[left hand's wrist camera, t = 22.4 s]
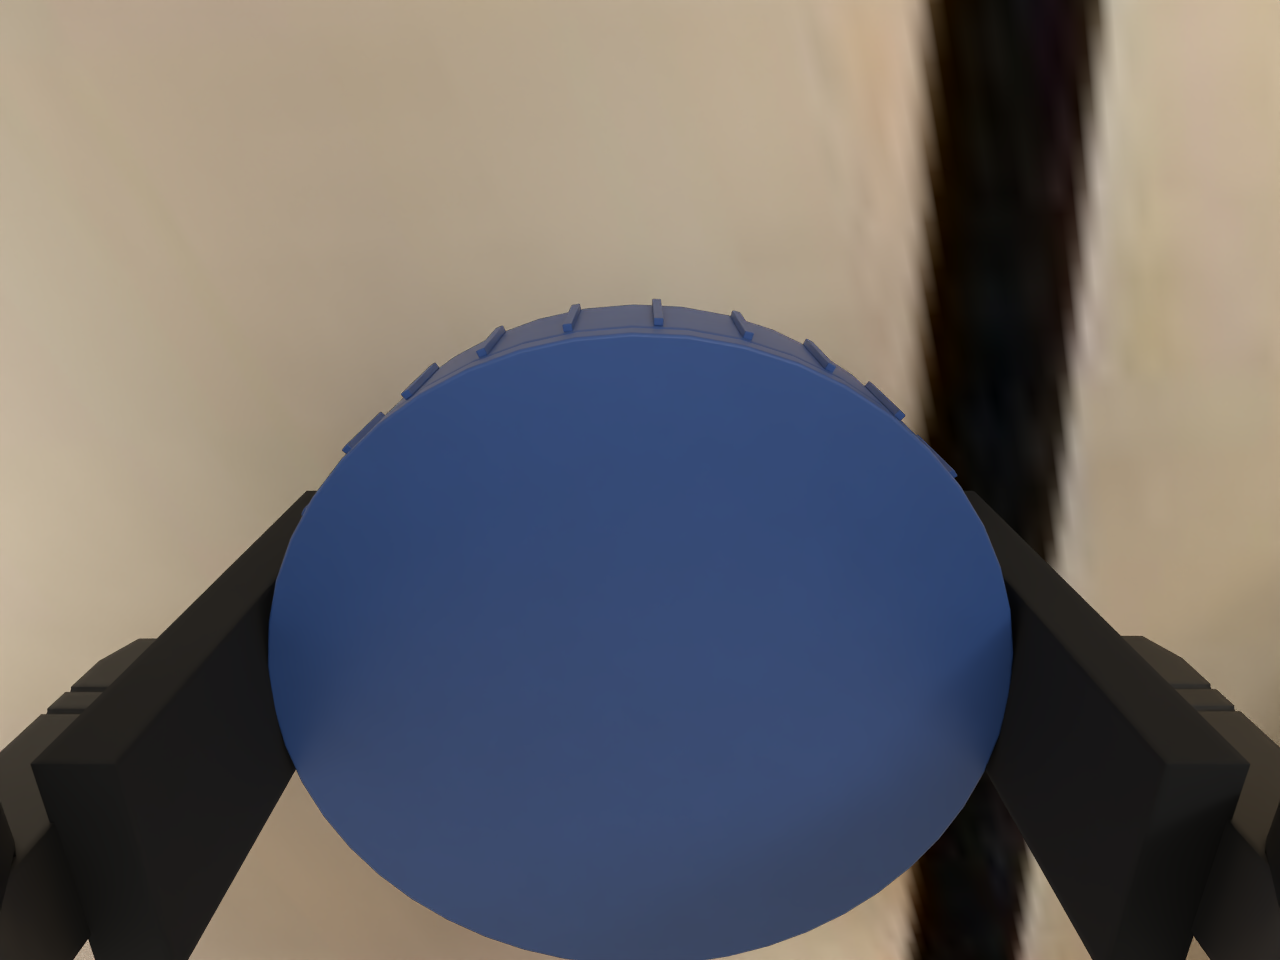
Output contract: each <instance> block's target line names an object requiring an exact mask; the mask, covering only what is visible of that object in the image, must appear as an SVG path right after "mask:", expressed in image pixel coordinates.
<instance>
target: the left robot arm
mask: <svg viewBox="0 0 1280 960" xmlns="http://www.w3.org/2000/svg"><path fill="white" fill-rule="evenodd" d="M316 492H317V491H306V492H305V493H304V494H303V495H302V496H301V497H300V498H299V499H298V500H297V501H296V502H295V503H294V504H293V505H292V506H291V507H290V508H289V509H288V510H287V511H286V512H285V513H284V514H283V515H282V516H281V517H280V518H279V519H278V520H277V521H276V522H275V523H274V524H273V525H272V526H271V527H270V528H269V529H268V530H267V531H266V532H265V533H264V534H263V535H262V536H261V537H260V538H259V539H258V540H257V541H255V542H254V543H253V544H252V545H251V546H250V547H249V548H248V549H247V550H246V551H245V552H244V553H243V554H242V555H241V556H240V557H239V558H238V559H237V560H236V561H235V562H234V563H233V564H232V565H231V566H230V567H229V568H228V569H227V570H226V571H225V572H224V573H223V574H222V575H221V576H220V577H219V578H218V579H217V580H216V581H215V582H214V583H213V584H212V585H211V586H210V587H209V588H208V589H207V590H206V591H205V592H204V593H203V594H202V595H201V596H200V597H199V598H198V599H197V600H196V601H195V602H194V603H193V604H192V605H191V606H190V607H189V608H188V609H187V610H186V611H185V612H184V613H183V614H182V615H181V616H179V617H178V618H177V619H176V620H175V621H174V622H173V623H172V624H171V625H170V626H169V627H168V628H167V629H166V630H165V631H164V632H163V633H162V634H161V635H160V636H159V637H158V638H157V639H138V640H136V641H134V642H132V643H130V644H129V645H127V646H125V647H123V648H121V649H120V650H118V651H116V652H114V653H113V654H111V655H109V656H107V657H105V658H104V659H102V660H100V661H99V662H98V663H96V664H95V665H94V666H93V667H92V668H91V669H90V670H89V671H88V672H87V673H86V674H85V675H83V676H82V677H81V678H80V679H79V680H78V681H77V682H76V683H75V684H74V685H73V686H72V687H71V691H70V692H65V693H64V694H63V695H62V696H61V697H60V698H59V699H57V700H56V701H55V702H54V703H53V704H52V705H51V706H50V707H49V708H48V709H47V710H48V711H47V714H41V715H40V716H39V717H38V718H37V719H36V720H35V721H34V722H33V723H31V724H30V725H29V726H28V727H27V728H26V729H25V730H24V731H23V732H22V733H21V734H19V735H18V736H17V737H16V738H15V739H14V740H13V741H12V742H11V743H10V744H9V745H8V746H6V747H5V748H4V749H3V750H2V751H1V752H0V960H73V959H74V958H75V956H76V955H77V954H78V952H79V951H80V949H81V948H82V947H83V945H84V944H85V942H86V941H87V940H89V943H90V946H91V949H92V952H93V955H94V958H95V960H188V959H189V957H190V955H191V954H192V952H193V950H194V948H195V946H196V945H197V943H198V941H199V939H200V938H201V936H202V934H203V932H204V931H205V929H206V927H207V925H208V924H209V922H210V920H211V918H212V916H213V915H214V913H215V911H216V909H217V908H218V906H219V904H220V902H221V901H222V899H223V897H224V895H225V894H226V892H227V890H228V888H229V886H230V885H231V883H232V881H233V879H234V878H235V876H236V874H237V872H238V871H239V869H240V867H241V865H242V864H243V862H244V860H245V858H246V856H247V855H248V853H249V851H250V849H251V848H252V846H253V844H254V842H255V841H256V839H257V837H258V835H259V833H260V832H261V830H262V828H263V826H264V825H265V823H266V821H267V819H268V818H269V816H270V814H271V812H272V811H273V809H274V807H275V805H276V803H277V802H278V800H279V798H280V796H281V795H282V793H283V791H284V789H285V788H286V786H287V784H288V782H289V781H290V779H291V777H292V775H293V773H294V772H295V770H296V768H295V766H294V764H293V762H292V759H291V757H290V755H289V753H288V751H287V749H286V746H285V743H284V740H283V737H282V733H281V730H280V727H279V723H278V719H277V715H276V710H275V705H274V700H273V694H272V688H271V683H270V677H269V670H268V632H269V618H270V612H271V606H272V601H273V595H274V589H275V584H276V579H277V576H278V573H279V570H280V567H281V565H282V562H283V559H284V556H285V553H286V550H287V547H288V544H289V542H290V539H291V537H292V535H293V533H294V531H295V529H296V527H297V525H298V523H299V522H300V520H301V518H302V515H301V514H302V512H303V510H304V508H305V507H306V506H307V505H308V504H309V503H310V501H311V499H312V497H313V496H314V495H315V493H316ZM964 493H965V495H966V496H967V498H968V500H969V501H970V503H971V505H972V506H973V508H974V510H975V511H976V513H977V515H978V516H979V518H980V520H981V521H982V523H983V525H984V527H985V529H986V532H987V534H988V536H989V539H990V542H991V544H992V547H993V549H994V552H995V554H996V557H997V559H998V562H999V564H1000V567H1001V571H1002V575H1003V579H1004V584H1005V588H1006V593H1007V597H1008V601H1009V606H1010V611H1011V627H1012V642H1013V660H1012V671H1011V682H1010V688H1009V694H1008V699H1007V704H1006V708H1005V713H1004V718H1003V722H1002V726H1001V730H1000V734H999V737H998V739H997V742H996V744H995V747H994V749H993V751H992V754H991V756H990V759H989V761H988V764H987V766H986V768H985V771H986V773H987V774H988V776H989V778H990V780H991V781H992V783H993V785H994V787H995V788H996V790H997V792H998V794H999V795H1000V797H1001V799H1002V801H1003V803H1004V804H1005V806H1006V808H1007V810H1008V811H1009V813H1010V815H1011V817H1012V818H1013V820H1014V822H1015V824H1016V825H1017V827H1018V829H1019V831H1020V833H1021V834H1022V836H1023V838H1024V840H1025V841H1026V843H1027V845H1028V847H1029V848H1030V850H1031V852H1032V854H1033V856H1034V857H1035V859H1036V861H1037V863H1038V864H1039V866H1040V868H1041V870H1042V871H1043V873H1044V875H1045V877H1046V878H1047V880H1048V882H1049V884H1050V886H1051V887H1052V889H1053V891H1054V893H1055V894H1056V896H1057V898H1058V900H1059V901H1060V903H1061V905H1062V907H1063V908H1064V910H1065V912H1066V914H1067V916H1068V917H1069V919H1070V921H1071V923H1072V924H1073V926H1074V928H1075V930H1076V931H1077V933H1078V935H1079V937H1080V938H1081V940H1082V942H1083V944H1084V946H1085V947H1086V949H1087V951H1088V953H1089V954H1090V956H1091V958H1092V960H1186V957H1187V954H1188V951H1189V948H1190V945H1191V942H1192V939H1193V936H1194V937H1195V939H1196V940H1197V941H1198V943H1199V944H1200V946H1201V947H1202V948H1203V950H1204V951H1205V953H1206V954H1207V955H1208V957H1209V958H1210V960H1280V747H1279V746H1278V745H1276V744H1275V743H1274V742H1273V741H1272V740H1271V739H1270V738H1269V737H1268V736H1267V735H1266V734H1264V733H1263V732H1262V731H1261V730H1260V729H1259V728H1258V727H1257V726H1256V725H1255V724H1253V723H1252V722H1251V721H1250V720H1249V719H1248V718H1247V717H1246V716H1245V715H1244V714H1243V713H1241V712H1235V710H1234V705H1233V704H1232V703H1231V702H1229V701H1228V700H1227V699H1226V698H1225V697H1224V696H1223V695H1222V694H1221V693H1220V692H1219V691H1217V690H1216V689H1211V687H1210V683H1209V682H1208V681H1207V680H1205V679H1204V678H1203V677H1202V676H1201V675H1200V674H1199V673H1198V672H1197V671H1196V670H1195V669H1193V668H1192V667H1191V666H1190V665H1189V664H1188V663H1187V662H1186V661H1185V660H1184V659H1183V658H1181V657H1179V656H1177V655H1176V654H1174V653H1172V652H1170V651H1168V650H1167V649H1165V648H1163V647H1161V646H1159V645H1158V644H1156V643H1154V642H1152V641H1150V640H1149V639H1147V638H1145V637H1143V636H1120V635H1119V634H1118V633H1117V632H1116V631H1115V630H1114V629H1113V628H1112V627H1111V626H1110V625H1109V624H1108V623H1107V622H1106V621H1105V620H1104V619H1103V618H1102V617H1101V616H1100V615H1099V614H1098V613H1097V612H1096V611H1095V610H1094V609H1093V608H1092V607H1091V606H1090V605H1089V604H1088V603H1087V602H1086V601H1085V600H1084V599H1083V598H1082V597H1081V596H1080V595H1079V594H1078V593H1077V592H1076V591H1075V590H1074V589H1073V588H1072V587H1071V586H1070V585H1069V584H1068V583H1067V582H1066V581H1065V580H1064V579H1063V578H1062V577H1061V576H1060V575H1059V574H1058V573H1056V572H1055V571H1054V570H1053V569H1052V568H1051V567H1050V566H1049V565H1048V564H1047V563H1046V562H1045V561H1044V560H1043V559H1042V558H1041V557H1040V556H1039V555H1038V554H1037V553H1036V552H1035V551H1034V550H1033V549H1032V548H1031V547H1030V546H1029V545H1028V544H1027V543H1026V542H1025V541H1024V540H1023V539H1022V538H1021V537H1020V536H1019V535H1018V534H1017V533H1016V532H1015V531H1014V530H1013V529H1012V528H1011V527H1010V526H1009V525H1008V524H1007V523H1006V522H1005V521H1004V520H1003V519H1002V518H1001V517H1000V516H999V515H998V514H997V513H996V512H995V511H994V510H993V509H992V508H991V507H990V506H989V505H988V504H987V503H986V502H985V501H984V500H983V499H981V498H980V497H979V496H978V495H977V494H976V493H975V492H974V491H964Z"/></svg>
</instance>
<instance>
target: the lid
mask: <svg viewBox="0 0 1280 960" xmlns="http://www.w3.org/2000/svg"><path fill="white" fill-rule="evenodd" d="M401 395H402V396H403V397H404V398H403V399H402V400H401V401H400V402H399V403H398V404H397V405H395V406H394V407H393V408H392V409H391V410H390V411H389V412H388V413H387V414H386V415H384V414H383V413H382V412H380V413H379V414H378V415H377V416H376V417H375V418H374V419H372V420H371V421H370V422H369V423H368V424H367V425H366V426H365V427H364V428H363V429H362V430H361V431H360V432H359V433H358V434H357V435H356V436H355V437H354V438H353V439H352V440H351V441H350V442H349V443H347V444H346V446H345V447H344V448H343V449H342V451H343V452H345V453H346V455H345V456H344V457H343V458H342V459H341V460H340V462H339V463H338V464H337V466H336V467H335V468H334V470H333V471H332V472H331V473H330V475H329V476H328V477H327V479H326V480H325V481H324V483H323V484H322V485H321V487H320V488H319V489H318V491H317V492H316V493H315V495H314V496H313V497H312V499H311V501H310V503H309V504H308V505H307V506H306V507H305V508H304V510H303V512H302V514H301V515H302V518H301V520H300V522H299V523H298V525H297V527H296V529H295V531H294V533H293V535H292V537H291V539H290V542H289V544H288V547H287V550H286V553H285V556H284V559H283V562H282V565H281V567H280V570H279V573H278V576H277V579H276V584H275V589H274V595H273V601H272V606H271V612H270V618H269V632H268V670H269V677H270V683H271V688H272V694H273V700H274V705H275V710H276V715H277V719H278V723H279V727H280V730H281V733H282V737H283V740H284V743H285V746H286V749H287V751H288V753H289V755H290V757H291V759H292V762H293V764H294V766H295V768H296V770H297V772H298V775H299V777H300V779H301V781H302V783H303V785H304V786H305V788H306V789H307V791H308V792H309V794H310V796H311V797H312V799H313V800H314V802H315V803H316V805H317V807H318V808H319V810H320V811H321V813H322V814H323V816H324V817H325V818H326V820H327V821H328V822H329V823H330V824H331V826H332V827H333V828H334V829H335V830H336V832H337V833H338V834H339V835H340V836H341V837H342V839H343V840H344V841H345V842H346V843H347V845H348V846H349V847H350V848H351V849H352V850H353V851H354V852H355V853H356V854H357V855H359V856H360V857H361V858H362V859H363V860H364V861H365V862H366V863H367V864H368V865H369V866H370V867H371V868H372V869H373V870H375V871H376V872H377V873H378V874H379V875H380V876H381V877H383V878H384V879H385V880H387V881H388V882H390V883H391V884H392V885H394V886H395V887H396V888H398V889H399V890H400V891H402V892H403V893H404V894H406V895H407V896H408V897H410V898H411V899H413V900H414V901H416V902H418V903H420V904H421V905H423V906H425V907H426V908H428V909H430V910H432V911H433V912H435V913H437V914H438V915H440V916H442V917H444V918H445V919H447V920H449V921H452V922H454V923H456V924H458V925H460V926H463V927H465V928H467V929H469V930H472V931H474V932H476V933H478V934H480V935H483V936H485V937H488V938H491V939H494V940H497V941H500V942H503V943H506V944H509V945H512V946H515V947H518V948H521V949H524V950H529V951H533V952H537V953H542V954H546V955H551V956H555V957H559V958H564V959H571V960H708V959H715V958H721V957H727V956H732V955H736V954H740V953H743V952H747V951H751V950H755V949H759V948H763V947H767V946H770V945H773V944H776V943H778V942H781V941H784V940H786V939H789V938H792V937H795V936H797V935H800V934H803V933H806V932H808V931H810V930H812V929H814V928H816V927H818V926H820V925H823V924H825V923H827V922H829V921H831V920H833V919H835V918H837V917H839V916H841V915H843V914H845V913H847V912H848V911H850V910H851V909H853V908H855V907H856V906H858V905H859V904H861V903H863V902H864V901H866V900H867V899H869V898H871V897H872V896H874V895H875V894H877V893H879V892H880V891H881V890H882V889H884V888H885V887H886V886H887V885H889V884H890V883H891V882H892V881H894V880H895V879H896V878H897V877H899V876H900V875H901V874H903V873H904V872H905V871H906V870H908V869H909V868H910V867H911V866H912V865H913V864H914V863H915V862H916V861H917V860H918V859H919V858H920V857H921V856H922V855H923V854H924V853H925V852H926V851H927V850H928V849H929V848H930V847H931V846H932V845H933V844H934V843H935V842H936V841H937V840H938V839H939V838H940V837H941V835H942V834H943V833H944V832H945V830H946V829H947V828H948V826H949V825H950V824H951V823H952V821H953V820H954V819H955V817H956V816H957V815H958V813H959V812H960V811H961V810H962V808H963V807H964V805H965V804H966V802H967V800H968V799H969V797H970V795H971V793H972V792H973V790H974V788H975V787H976V785H977V783H978V781H979V780H980V778H981V776H982V775H983V773H984V771H985V768H986V766H987V764H988V761H989V759H990V756H991V754H992V751H993V749H994V747H995V744H996V742H997V739H998V737H999V734H1000V730H1001V726H1002V722H1003V718H1004V713H1005V708H1006V704H1007V699H1008V694H1009V688H1010V682H1011V671H1012V660H1013V642H1012V627H1011V611H1010V606H1009V601H1008V597H1007V593H1006V588H1005V584H1004V579H1003V575H1002V571H1001V567H1000V564H999V562H998V559H997V557H996V554H995V552H994V549H993V547H992V544H991V542H990V539H989V536H988V534H987V532H986V529H985V527H984V525H983V523H982V521H981V520H980V518H979V516H978V515H977V513H976V511H975V510H974V508H973V506H972V505H971V503H970V501H969V500H968V498H967V496H966V495H965V493H964V491H963V490H962V488H961V486H960V485H959V484H958V483H957V481H956V480H955V479H954V478H955V477H956V476H957V474H956V473H955V471H954V470H953V469H952V468H951V467H950V466H949V465H948V464H947V463H946V462H945V461H944V460H943V459H942V458H941V457H940V456H939V455H938V454H937V453H936V452H935V451H934V450H933V449H932V448H931V447H930V446H929V445H928V444H927V443H926V442H925V441H924V440H923V439H922V438H921V437H920V436H919V435H915V434H914V433H913V432H912V431H911V430H910V429H909V428H908V427H907V426H906V425H905V424H904V423H903V422H902V421H901V420H902V419H903V418H904V417H905V414H904V413H903V412H902V411H901V410H900V409H898V408H897V407H896V406H895V405H894V404H893V403H892V402H891V401H890V400H889V399H888V398H887V397H886V396H885V395H884V394H883V393H882V392H881V391H880V390H879V389H878V388H876V387H875V386H874V385H873V384H872V383H871V382H870V381H869V382H868V383H867V384H866V385H865V386H864V385H863V384H862V383H860V382H859V381H858V380H857V379H856V378H855V377H854V376H853V375H851V374H850V373H848V372H847V371H845V370H844V369H842V368H841V367H839V366H838V365H836V364H835V363H833V362H832V361H831V360H830V359H829V358H828V357H827V356H826V355H825V354H824V353H823V352H822V351H821V350H820V349H819V348H818V347H817V346H816V345H815V344H814V343H813V342H812V341H810V340H808V339H806V340H805V342H804V344H801V343H799V342H797V341H795V340H793V339H791V338H789V337H787V336H785V335H783V334H780V333H778V332H776V331H774V330H772V329H769V328H766V327H763V326H759V325H756V324H753V323H750V322H747V321H745V319H744V318H743V316H742V315H741V313H740V312H737V311H732V314H731V316H728V315H723V314H718V313H712V312H707V311H701V310H696V309H690V308H685V307H673V306H662V305H661V299H653V300H652V305H623V306H611V307H600V308H588V309H582V310H581V307H580V304H575V305H572V306H571V308H570V310H569V312H568V313H564V314H559V315H555V316H550V317H546V318H541V319H538V320H535V321H532V322H529V323H527V324H524V325H521V326H519V327H516V328H513V329H510V330H508V331H505V329H504V327H503V326H500V327H498V328H496V329H495V330H494V331H493V332H492V333H491V334H490V336H489V337H488V338H487V339H486V340H485V341H483V342H481V343H479V344H478V345H476V346H474V347H472V348H470V349H468V350H466V351H464V352H463V353H461V354H459V355H457V356H455V357H454V358H452V359H451V360H449V361H448V362H447V363H445V364H444V365H443V366H441V367H440V368H439V367H438V365H437V364H436V363H433V364H432V365H431V366H429V367H428V368H427V369H426V370H425V371H424V372H423V373H422V374H421V375H420V376H419V377H418V378H417V379H416V380H415V381H414V382H413V383H412V384H411V385H410V386H409V387H408V388H407V389H406V390H405V391H403V392H402V393H401Z"/></svg>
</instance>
